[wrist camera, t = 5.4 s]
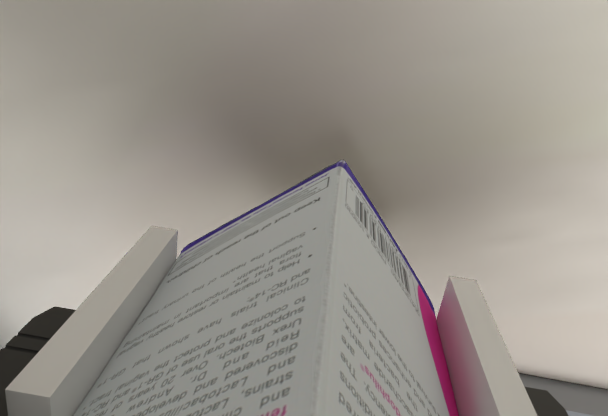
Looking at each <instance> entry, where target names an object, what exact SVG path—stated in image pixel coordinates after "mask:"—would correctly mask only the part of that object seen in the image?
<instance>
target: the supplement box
mask: <svg viewBox="0 0 608 416" xmlns="http://www.w3.org/2000/svg"><path fill="white" fill-rule="evenodd" d="M73 416H459V414H458V410H457V405H456V401H455V397H454V392H453V388H452V384H451V380H450V375H449V371H448V367H447V363H446V359H445V355H444V351H443V347H442V343H441V339H440V335H439V330H438V326H437V322H436V316H435V312H434V308H433V305H432V303H431V300H430V299H429V297H428V295H427V293H426V292H425V290H424V288H423V286H422V285H421V283H420V281H419V279H418V278H417V276H416V274H415V273H414V271H413V270H412V268H411V266H410V265H409V263H408V261H407V259H406V258H405V256H404V255H403V253H402V251H401V250H400V248H399V246H398V245H397V243H396V242H395V240H394V238H393V237H392V235H391V233H390V232H389V230H388V228H387V227H386V225H385V223H384V222H383V220H382V219H381V217H380V215H379V214H378V212H377V211H376V209H375V207H374V206H373V204H372V203H371V201H370V200H369V198H368V196H367V195H366V193H365V192H364V190H363V188H362V187H361V185H360V184H359V182H358V181H357V179H356V178H355V176H354V175H353V173H352V172H351V170H350V168H349V167H348V165H347V163H346V162H345V161H344V160H340V161H338V162H337V163H335V164H333V165H330V166H328V167H326V168H324V169H323V170H321V171H319V172H317V173H315V174H314V175H312V176H311V177H309V178H307V179H305V180H303V181H302V182H300V183H298V184H297V185H295V186H293V187H291V188H290V189H288V190H286V191H284V192H282V193H281V194H279V195H277V196H275V197H274V198H272V199H270V200H268V201H267V202H265V203H263V204H261V205H260V206H257V207H255V208H253V209H251V210H250V211H248V212H247V213H245V214H243V215H241V216H239V217H237V218H235V219H233V220H231V221H229V222H228V223H226V224H224V225H222V226H220V227H219V228H217V229H215V230H214V231H212V232H210V233H208V234H206V235H205V236H203V237H201V238H199V239H197V240H195V241H194V242H192V243H190V244H189V245H187V246H186V247H185V248H184V249H183V250H182V251H181V253H180V255H179V257H178V258H177V260H176V261H175V263H174V264H173V266H172V267H171V269H170V270H169V272H168V273H167V275H166V276H165V278H164V279H163V281H162V282H161V284H160V286H159V287H158V289H157V290H156V292H155V294H154V295H153V297H152V298H151V300H150V301H149V303H148V304H147V306H146V307H145V309H144V310H143V312H142V313H141V315H140V316H139V318H138V319H137V321H136V322H135V324H134V325H133V327H132V328H131V330H130V331H129V332H128V334H127V335H126V337H125V338H124V340H123V341H122V343H121V344H120V346H119V348H118V349H117V350H116V352H115V353H114V354H113V356H112V357H111V359H110V360H109V362H108V363H107V365H106V367H105V368H104V370H103V371H102V373H101V375H100V376H99V378H98V379H97V381H96V382H95V384H94V385H93V387H92V388H91V390H90V391H89V393H88V394H87V396H86V397H85V398H84V400H83V401H82V403H81V404H80V406H79V407H78V409H77V410H76V412H75V413H74V415H73Z"/></svg>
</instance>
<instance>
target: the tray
mask: <svg viewBox="0 0 608 416" xmlns="http://www.w3.org/2000/svg"><path fill="white" fill-rule="evenodd" d="M518 374H519V373H518ZM519 376H520V378H521V380H522V383H523V385H524V387H530V388H535V389H541V390H547V391H548V392H549V393H550V394H551V395H552V396H553V397H554V398H555V399H556V400H557V401H558V402H559V403H560V404H561V405H562V406H563V407H564V408H565V410H566V412H567V414H568V416H608V390H607V389H601V388H596V387H590V386H585V385H579V384H574V383H568V382H563V381H557V380H552V379H547V378H541V377H536V376H530V375H525V374H519Z"/></svg>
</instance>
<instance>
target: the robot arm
mask: <svg viewBox="0 0 608 416" xmlns="http://www.w3.org/2000/svg"><path fill="white" fill-rule="evenodd" d="M177 234H178V230H174V229H168V228H162V227H156V226H151V227H150V228H149V229H148V230H147V232H146V233H145V234H144V235H143V236H142V237H141V238H140V239H139V240H138V242H137V243H136V244H135V245H134V246H133V247H132V248H131V249H130V251H129V252H128V253H127V254H126V255H125V256H124V257H123V258H122V259H121V261H120V262H119V263H118V264H117V265H116V266H115V267H114V268H113V270H112V271H111V272H110V273H109V274H108V275H107V276H106V277H105V278H104V280H103V281H102V282H101V283H100V284H99V285H98V286H97V287H96V288H95V290H94V291H93V292H92V293H91V294H90V295H89V296H88V297H87V299H86V300H85V301H84V302H83V303H82V304H81V305H80V306H79V307H78V309H77V310H72V309H66V308H60V307H53V308H51V309H49V310H47V311H45V312H43V313H41V314H40V315H38V316H36V317H34V318H33V319H32V320H31V321H30V322H29V323H28V324H27V325H25V326H24V327H23V328H22V329H21V330H20V331H19V332H18V335H17V336H14V337H13V338H12V339H11V340H10V341H9V342H8V343H7V344H6V347H5V348H2V349H1V350H0V416H73V415H74V413H75V412H76V410H77V409H78V407H79V406H80V404H81V403H82V401H83V400H84V398H85V397H86V396H87V394H88V393H89V391H90V390H91V388H92V387H93V385H94V384H95V382H96V381H97V379H98V378H99V376H100V375H101V373H102V371H103V370H104V368H105V367H106V365H107V363H108V362H109V360H110V359H111V357H112V356H113V354H114V353H115V352H116V350H117V349H118V348H119V346H120V344H121V343H122V341H123V340H124V338H125V337H126V335H127V334H128V332H129V331H130V330H131V328H132V327H133V325H134V324H135V322H136V321H137V319H138V318H139V316H140V315H141V313H142V312H143V310H144V309H145V307H146V306H147V304H148V303H149V301H150V300H151V298H152V297H153V295H154V294H155V292H156V290H157V289H158V287H159V286H160V284H161V282H162V281H163V279H164V278H165V276H166V275H167V273H168V272H169V270H170V269H171V267H172V266H173V264H174V263H175V261H176V255H177ZM436 322H437V326H438V330H439V335H440V339H441V343H442V347H443V351H444V355H445V359H446V363H447V367H448V371H449V375H450V380H451V384H452V388H453V392H454V397H455V401H456V405H457V410H458V414H459V416H568V414H567V412H566V410H565V408H564V407H563V406H562V405H561V404H560V403H559V402H558V401H557V400H556V399H555V398H554V397H553V396H552V395H551V394H550V393H549V392H548V391H547V390H541V389H535V388H530V387H524V385H523V383H522V380H521V378H520V376H519V374H518V372H517V369H516V367H515V365H514V363H513V361H512V358H511V356H510V354H509V352H508V349H507V347H506V345H505V343H504V341H503V338H502V336H501V334H500V332H499V330H498V327H497V325H496V323H495V321H494V319H493V316H492V314H491V312H490V310H489V307H488V305H487V303H486V301H485V299H484V296H483V294H482V292H481V290H480V288H479V285H478V283H477V281H476V280H471V279H465V278H459V277H453V276H449V279H448V283H447V286H446V289H445V293H444V296H443V300H442V303H441V306H440V310H439V313H438V316H437V320H436Z"/></svg>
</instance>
